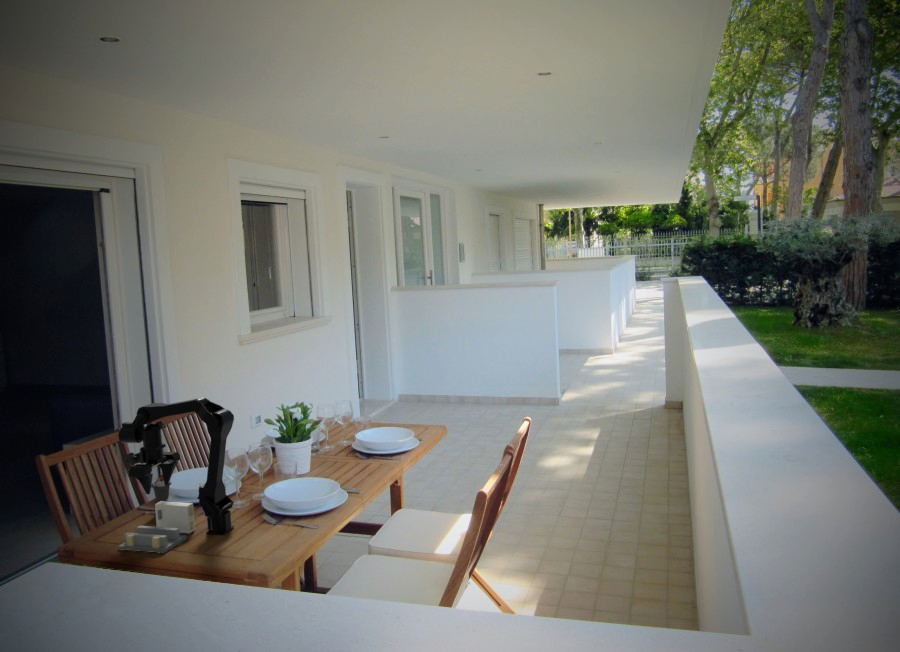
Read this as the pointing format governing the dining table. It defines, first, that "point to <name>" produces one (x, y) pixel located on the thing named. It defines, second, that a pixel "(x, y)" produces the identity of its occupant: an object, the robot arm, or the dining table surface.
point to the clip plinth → (152, 539)
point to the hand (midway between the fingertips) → (157, 489)
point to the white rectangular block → (175, 516)
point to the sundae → (161, 489)
